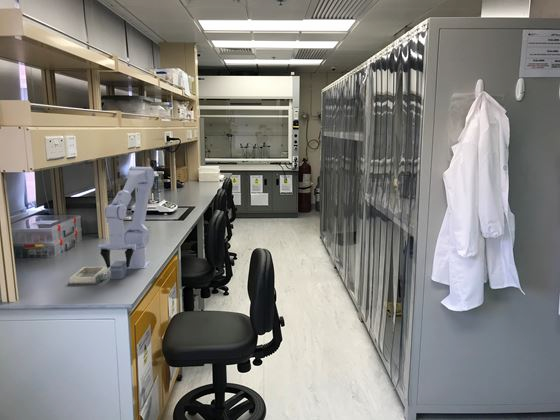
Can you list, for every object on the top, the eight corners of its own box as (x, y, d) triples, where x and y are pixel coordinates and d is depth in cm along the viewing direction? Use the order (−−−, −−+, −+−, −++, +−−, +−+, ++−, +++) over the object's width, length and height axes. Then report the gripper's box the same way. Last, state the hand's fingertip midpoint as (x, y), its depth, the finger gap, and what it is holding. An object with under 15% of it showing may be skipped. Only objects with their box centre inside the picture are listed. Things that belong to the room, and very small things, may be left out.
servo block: (117, 272, 184) (116, 260, 183) (127, 272, 184) (126, 259, 183) (110, 280, 174) (109, 267, 173) (120, 280, 174) (119, 266, 174)
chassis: (82, 272, 183) (81, 266, 183) (111, 272, 184) (110, 266, 184) (67, 284, 169) (67, 278, 168) (99, 284, 170) (98, 277, 169)
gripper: (94, 236, 172) (96, 270, 174) (132, 236, 173) (134, 269, 175) (100, 232, 179) (102, 265, 181) (136, 232, 180) (138, 264, 182)
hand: (118, 267), depth 179 cm, fingers open, 7 cm apart
